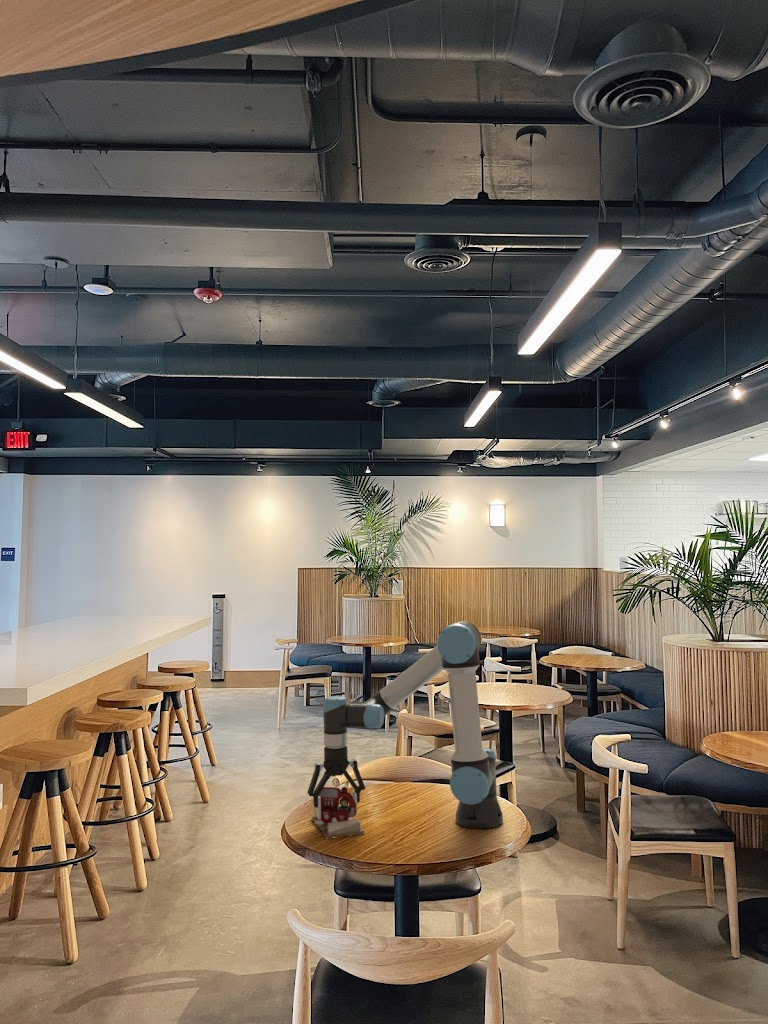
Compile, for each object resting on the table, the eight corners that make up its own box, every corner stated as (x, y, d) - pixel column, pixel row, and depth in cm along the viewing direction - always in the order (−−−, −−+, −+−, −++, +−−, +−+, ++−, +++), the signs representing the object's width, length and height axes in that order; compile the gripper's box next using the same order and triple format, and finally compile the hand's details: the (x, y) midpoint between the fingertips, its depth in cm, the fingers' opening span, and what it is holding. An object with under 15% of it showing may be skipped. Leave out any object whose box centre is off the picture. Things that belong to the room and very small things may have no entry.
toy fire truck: (353, 824, 241) (352, 790, 242) (315, 823, 243) (314, 789, 244) (358, 817, 248) (357, 784, 248) (321, 816, 250) (320, 783, 251)
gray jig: (364, 834, 238) (363, 821, 238) (326, 839, 234) (326, 826, 234) (346, 815, 256) (346, 802, 257) (311, 819, 253) (311, 807, 253)
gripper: (367, 739, 254) (368, 807, 253) (297, 746, 247) (298, 816, 245) (374, 744, 247) (375, 813, 246) (302, 751, 240) (303, 823, 238)
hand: (337, 815), depth 245 cm, fingers closed on toy fire truck, 11 cm apart
